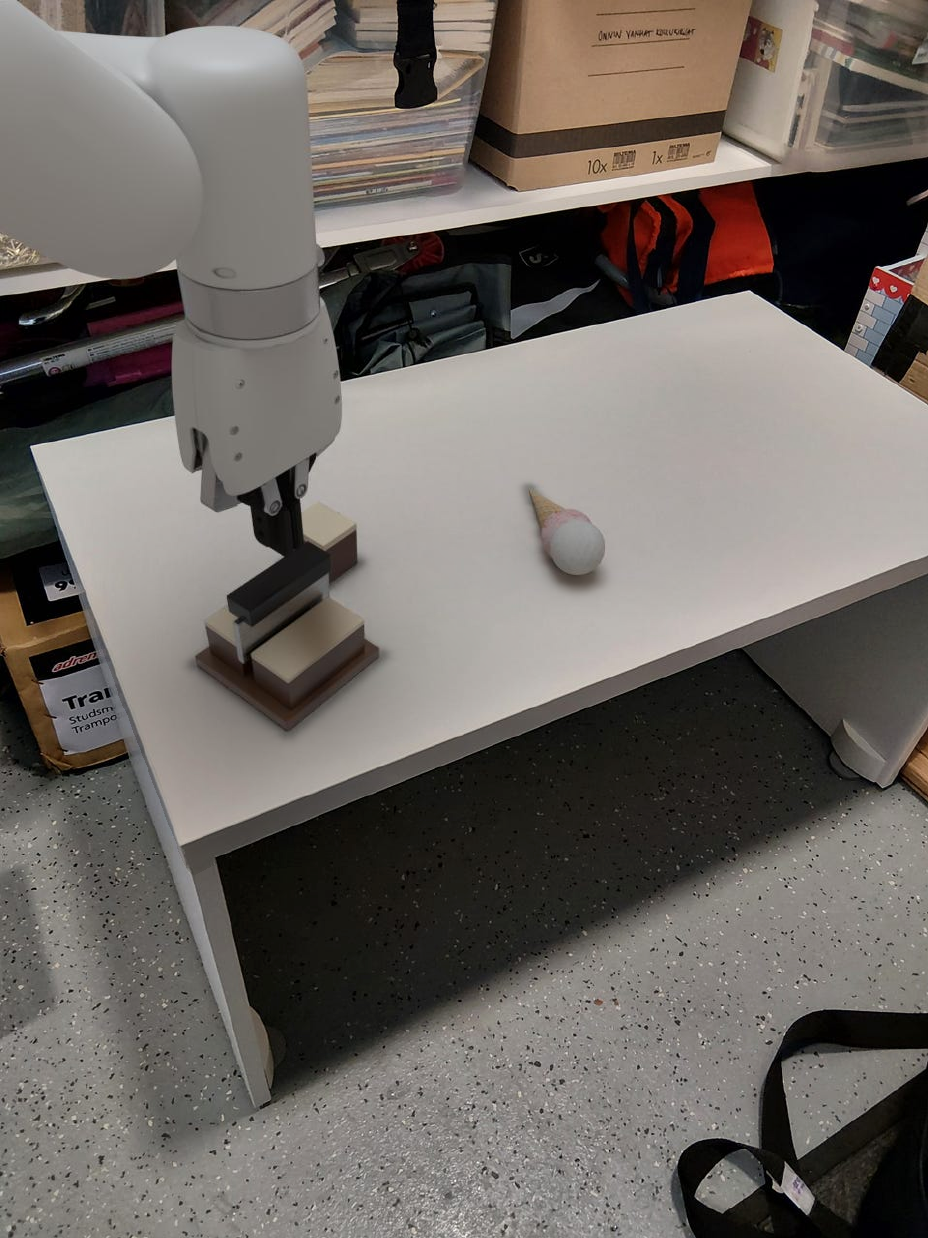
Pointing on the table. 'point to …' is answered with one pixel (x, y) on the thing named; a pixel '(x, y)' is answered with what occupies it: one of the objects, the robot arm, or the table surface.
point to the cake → (290, 660)
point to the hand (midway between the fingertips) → (279, 542)
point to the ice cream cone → (569, 537)
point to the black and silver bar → (278, 597)
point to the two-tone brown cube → (331, 536)
